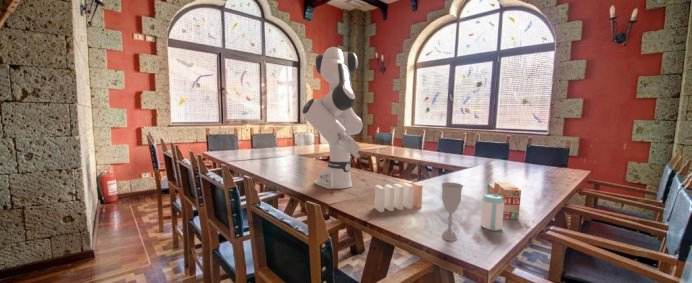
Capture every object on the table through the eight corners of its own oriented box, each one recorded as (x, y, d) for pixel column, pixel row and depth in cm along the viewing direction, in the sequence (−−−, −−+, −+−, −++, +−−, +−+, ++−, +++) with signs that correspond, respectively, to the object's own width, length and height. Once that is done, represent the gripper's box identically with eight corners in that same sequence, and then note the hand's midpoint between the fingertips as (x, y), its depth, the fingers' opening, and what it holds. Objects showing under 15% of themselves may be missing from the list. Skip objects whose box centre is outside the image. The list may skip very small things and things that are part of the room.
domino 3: (399, 210, 126) (400, 187, 125) (393, 206, 131) (393, 183, 130) (403, 209, 126) (404, 186, 125) (397, 205, 132) (397, 183, 131)
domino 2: (389, 211, 124) (390, 187, 123) (383, 206, 130) (384, 184, 128) (393, 210, 125) (394, 187, 124) (387, 206, 130) (388, 184, 129)
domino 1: (379, 212, 123) (380, 188, 122) (374, 207, 128) (375, 185, 127) (384, 211, 124) (385, 188, 122) (378, 207, 129) (379, 185, 128)
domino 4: (408, 209, 127) (409, 186, 126) (402, 205, 132) (402, 183, 131) (412, 208, 128) (413, 186, 127) (405, 204, 133) (406, 183, 132)
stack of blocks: (486, 202, 139) (488, 176, 137) (500, 203, 138) (502, 177, 136) (502, 219, 118) (504, 188, 116) (519, 220, 117) (521, 189, 115)
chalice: (456, 244, 94) (459, 189, 92) (435, 238, 98) (438, 185, 97) (462, 236, 100) (466, 184, 98) (442, 231, 104) (445, 181, 102)
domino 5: (417, 208, 129) (418, 185, 128) (410, 204, 134) (411, 182, 133) (421, 207, 129) (422, 185, 128) (414, 203, 134) (415, 182, 133)
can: (480, 222, 113) (482, 192, 112) (500, 225, 110) (503, 194, 109) (481, 229, 106) (483, 197, 105) (503, 232, 104) (505, 199, 103)
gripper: (348, 128, 110) (372, 153, 114) (333, 127, 129) (354, 148, 133) (337, 140, 109) (361, 165, 112) (323, 137, 128) (344, 159, 132)
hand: (357, 156), depth 123 cm, fingers closed
